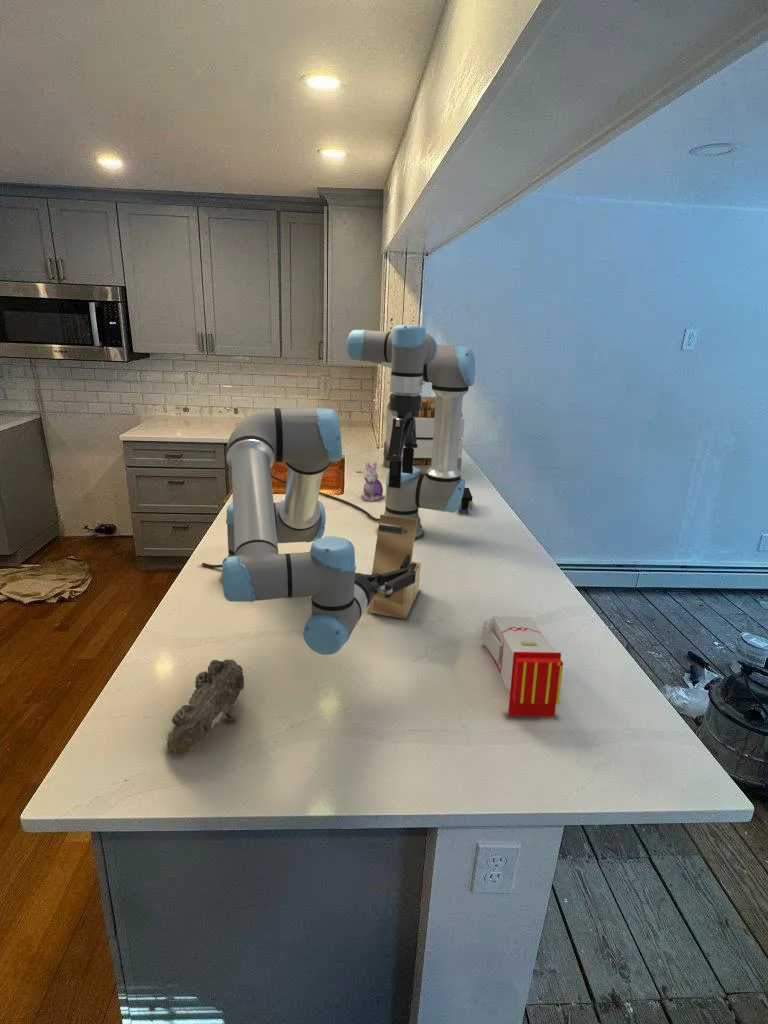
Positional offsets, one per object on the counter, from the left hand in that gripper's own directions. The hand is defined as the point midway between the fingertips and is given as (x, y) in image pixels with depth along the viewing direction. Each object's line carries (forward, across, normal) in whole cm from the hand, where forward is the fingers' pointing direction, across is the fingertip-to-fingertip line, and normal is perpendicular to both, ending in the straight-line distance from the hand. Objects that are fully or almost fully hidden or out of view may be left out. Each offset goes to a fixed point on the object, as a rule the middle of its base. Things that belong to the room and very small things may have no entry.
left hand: (379, 555), depth 129 cm
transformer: (+147, -20, -22) cm, 150 cm away
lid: (+15, 0, -5) cm, 15 cm away
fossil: (-37, -22, -22) cm, 48 cm away
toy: (-5, +33, -22) cm, 40 cm away
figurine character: (+101, +7, -22) cm, 104 cm away
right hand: (+18, 0, +13) cm, 22 cm away
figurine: (+101, -30, -22) cm, 108 cm away
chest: (+19, 0, -22) cm, 29 cm away
